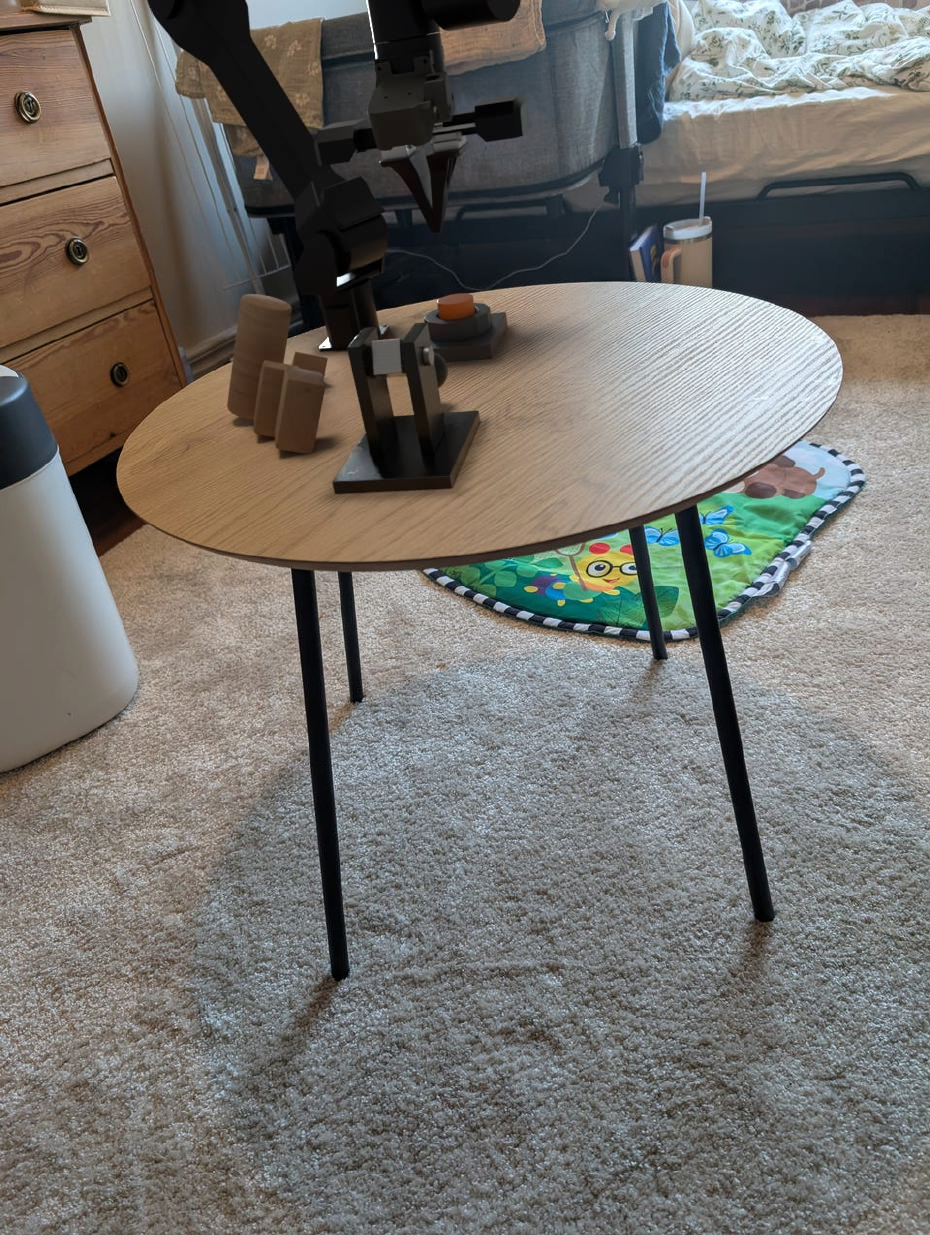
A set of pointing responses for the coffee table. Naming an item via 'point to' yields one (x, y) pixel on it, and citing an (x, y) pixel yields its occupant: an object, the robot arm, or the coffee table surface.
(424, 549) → the coffee table surface
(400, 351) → the lever
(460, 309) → the button
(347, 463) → the bracket
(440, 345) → the switch block
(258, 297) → the wooden block set
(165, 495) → the coffee table surface
